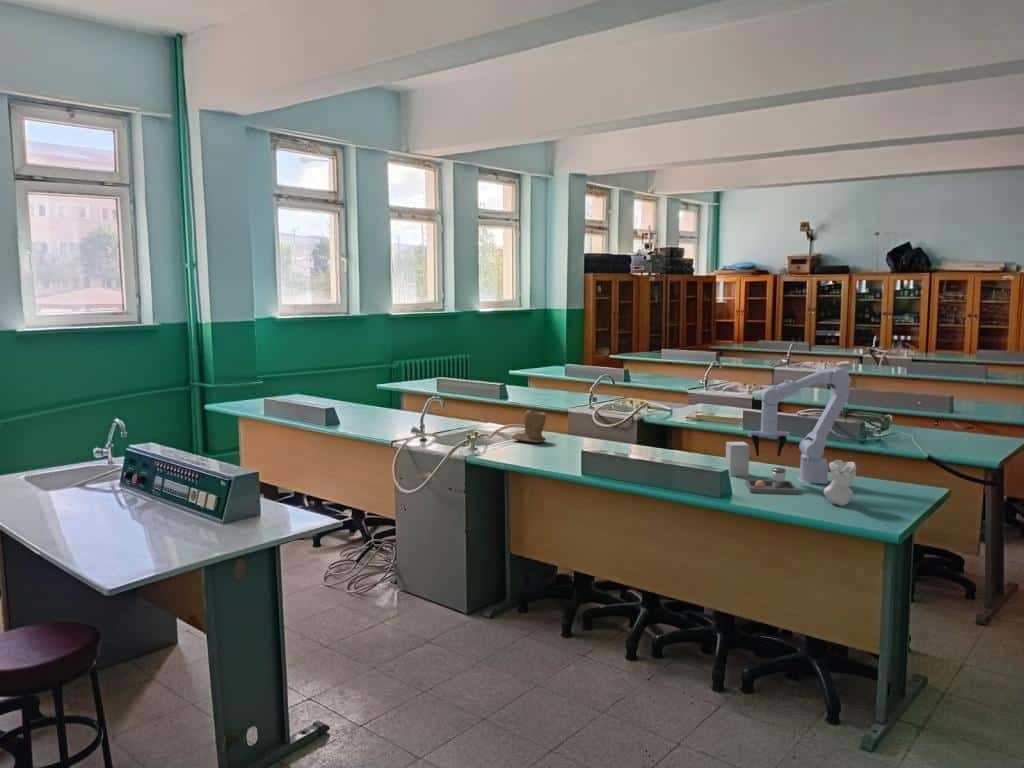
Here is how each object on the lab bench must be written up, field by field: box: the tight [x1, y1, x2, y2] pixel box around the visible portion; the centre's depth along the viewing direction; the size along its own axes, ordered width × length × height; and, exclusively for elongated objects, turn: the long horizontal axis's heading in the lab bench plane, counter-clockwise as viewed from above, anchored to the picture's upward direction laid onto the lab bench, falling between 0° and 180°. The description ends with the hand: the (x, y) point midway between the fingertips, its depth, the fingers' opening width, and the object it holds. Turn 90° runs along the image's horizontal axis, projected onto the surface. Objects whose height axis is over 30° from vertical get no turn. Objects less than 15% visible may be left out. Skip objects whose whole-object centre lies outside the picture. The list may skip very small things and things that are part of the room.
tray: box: [744, 479, 798, 495], centre depth 286 cm, size 16×12×2 cm
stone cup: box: [511, 409, 547, 444], centre depth 375 cm, size 15×12×15 cm
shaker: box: [771, 467, 787, 488], centre depth 286 cm, size 5×5×7 cm
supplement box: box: [725, 441, 750, 477], centre depth 308 cm, size 7×7×13 cm
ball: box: [755, 481, 765, 488], centre depth 284 cm, size 4×4×4 cm
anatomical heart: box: [823, 459, 857, 507], centre depth 265 cm, size 10×11×15 cm
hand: (767, 455), depth 297 cm, fingers open, 7 cm apart
